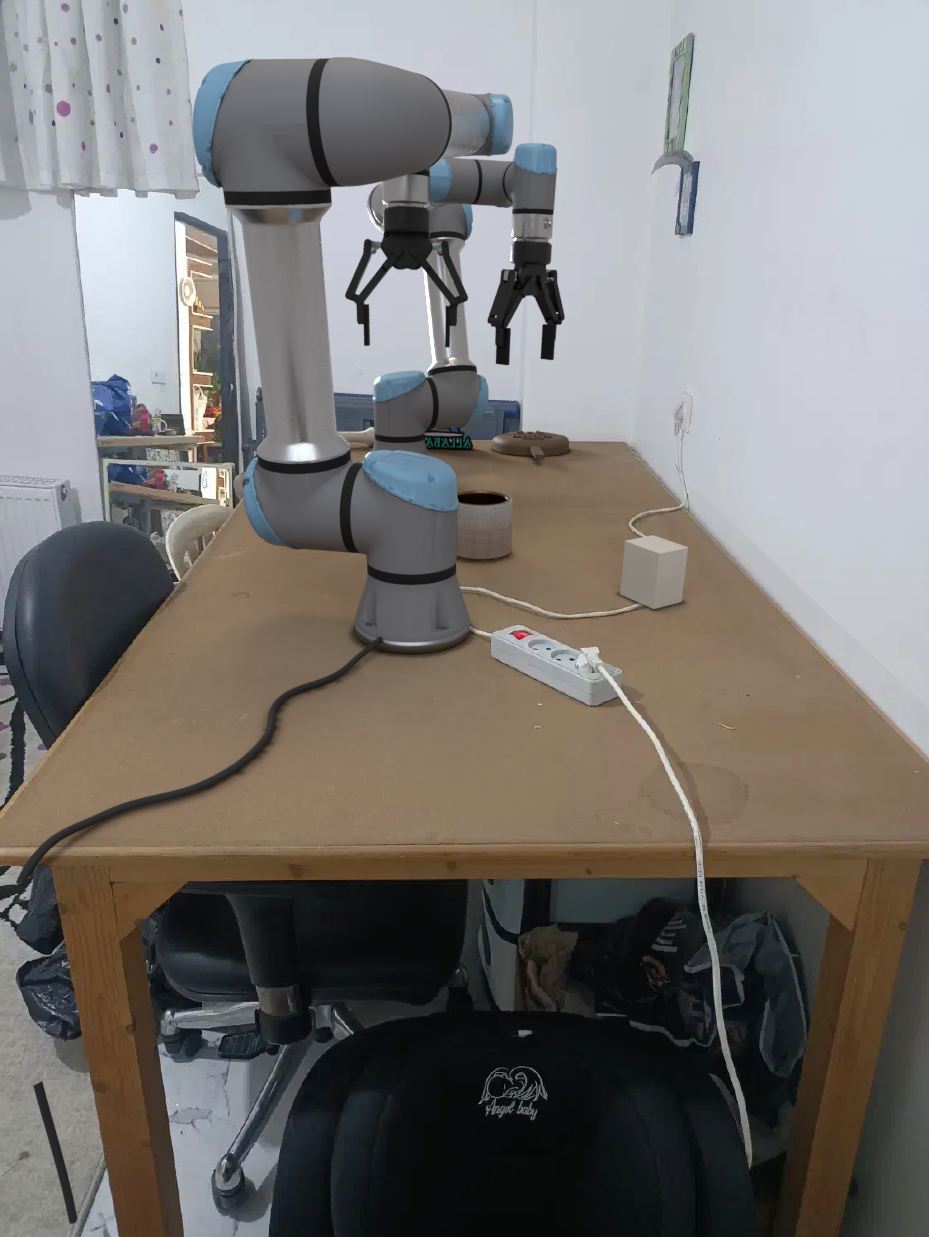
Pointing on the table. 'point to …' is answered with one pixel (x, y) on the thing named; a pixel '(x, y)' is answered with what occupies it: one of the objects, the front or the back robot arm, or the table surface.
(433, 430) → the decorative sign
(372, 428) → the dog toy
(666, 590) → the brick
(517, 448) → the ice cream bar
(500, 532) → the planter
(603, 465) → the table surface
